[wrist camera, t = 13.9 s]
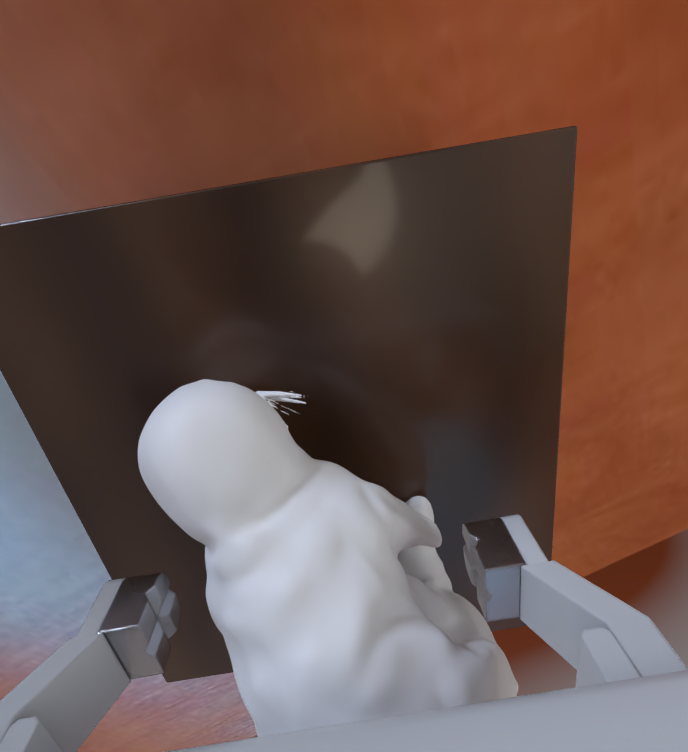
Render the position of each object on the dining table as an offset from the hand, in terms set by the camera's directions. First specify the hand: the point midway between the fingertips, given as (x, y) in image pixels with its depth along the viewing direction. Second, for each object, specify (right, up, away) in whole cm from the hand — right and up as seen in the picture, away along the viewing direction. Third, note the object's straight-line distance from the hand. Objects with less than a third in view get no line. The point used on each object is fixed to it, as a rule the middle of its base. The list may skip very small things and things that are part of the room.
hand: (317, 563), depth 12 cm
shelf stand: (-1, +8, +17) cm, 19 cm away
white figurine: (0, +1, +4) cm, 4 cm away
